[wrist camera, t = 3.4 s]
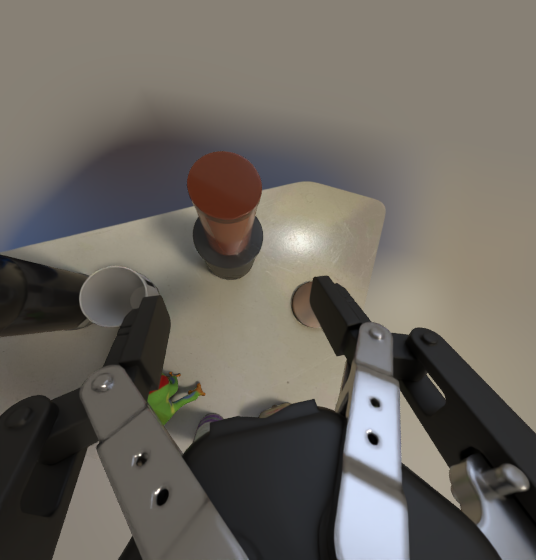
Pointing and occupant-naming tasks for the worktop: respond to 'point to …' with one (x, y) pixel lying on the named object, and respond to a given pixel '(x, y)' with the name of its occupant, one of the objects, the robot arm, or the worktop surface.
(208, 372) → the worktop surface
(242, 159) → the canister
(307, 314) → the disc
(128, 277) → the cup
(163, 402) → the toy
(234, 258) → the tin
